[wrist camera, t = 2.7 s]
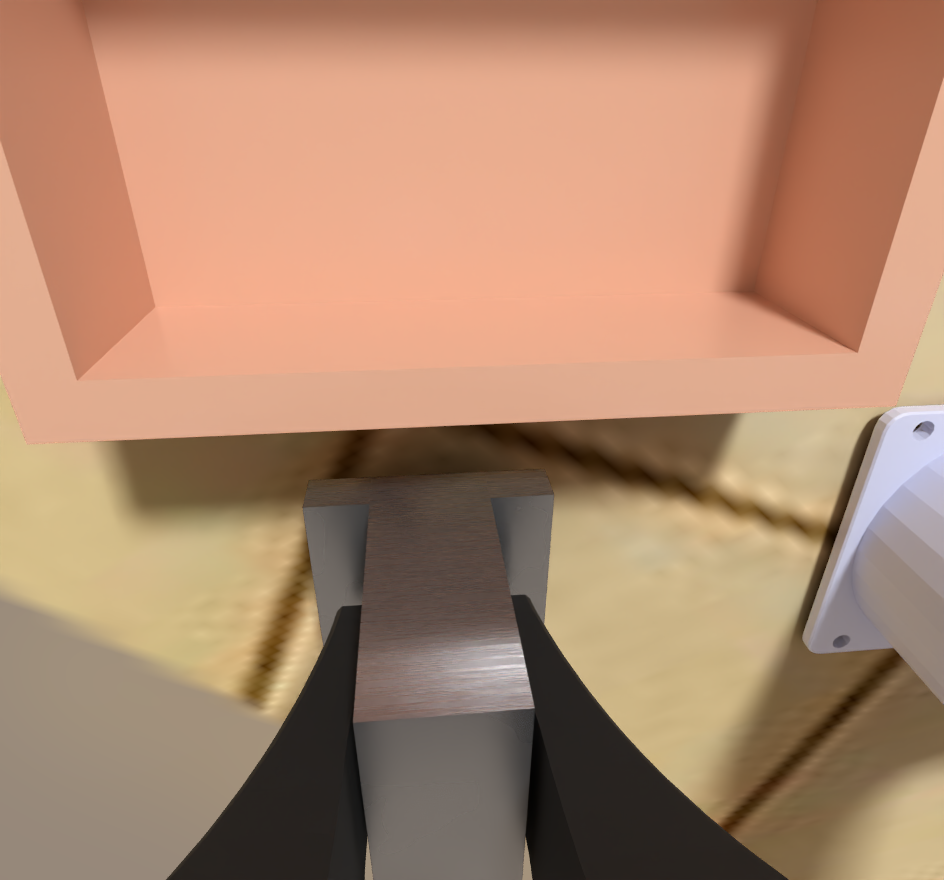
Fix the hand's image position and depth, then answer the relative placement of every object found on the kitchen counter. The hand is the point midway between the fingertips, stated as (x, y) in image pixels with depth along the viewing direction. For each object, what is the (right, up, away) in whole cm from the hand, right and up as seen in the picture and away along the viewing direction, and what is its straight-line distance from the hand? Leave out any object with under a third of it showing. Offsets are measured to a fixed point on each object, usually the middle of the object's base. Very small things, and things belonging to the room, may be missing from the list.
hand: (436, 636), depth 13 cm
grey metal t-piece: (0, +1, +2) cm, 2 cm away
